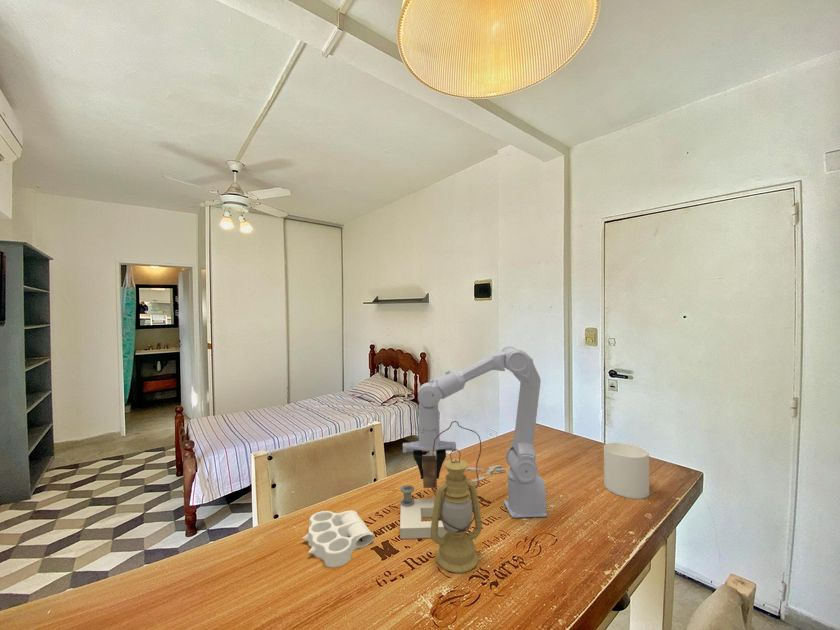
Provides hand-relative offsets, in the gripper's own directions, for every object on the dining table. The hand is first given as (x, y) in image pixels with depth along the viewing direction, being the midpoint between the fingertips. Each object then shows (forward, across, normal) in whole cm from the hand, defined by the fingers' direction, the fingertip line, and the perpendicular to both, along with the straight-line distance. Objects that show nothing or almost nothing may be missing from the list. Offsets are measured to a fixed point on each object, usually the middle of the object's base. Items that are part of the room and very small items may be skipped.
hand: (429, 477), depth 94 cm
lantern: (+9, -5, +19) cm, 21 cm away
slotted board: (+9, +2, +6) cm, 11 cm away
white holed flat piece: (+10, +23, +12) cm, 28 cm away
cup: (+9, -60, -8) cm, 61 cm away
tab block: (+2, 0, 0) cm, 2 cm away
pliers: (+10, -19, -21) cm, 30 cm away
